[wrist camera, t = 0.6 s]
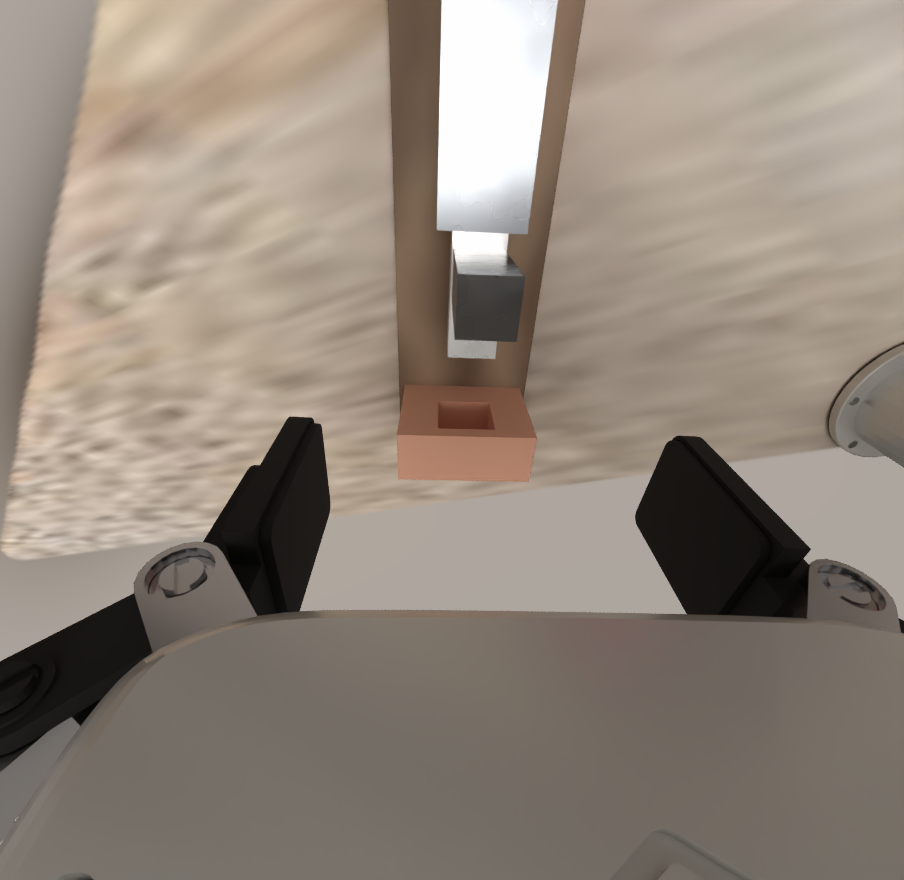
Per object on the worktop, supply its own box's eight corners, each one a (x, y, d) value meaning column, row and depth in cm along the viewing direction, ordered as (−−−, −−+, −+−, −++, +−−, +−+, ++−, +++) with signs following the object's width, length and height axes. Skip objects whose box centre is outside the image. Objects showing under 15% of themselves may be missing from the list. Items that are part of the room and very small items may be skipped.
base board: (583, -28, 23) (591, -39, 22) (516, 418, 40) (518, 426, 38) (389, -42, 23) (386, -55, 22) (401, 415, 39) (400, 423, 38)
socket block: (519, 387, 36) (537, 438, 29) (513, 426, 38) (528, 481, 32) (405, 384, 36) (396, 434, 29) (406, 423, 38) (398, 479, 31)
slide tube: (527, -38, 20) (592, -190, 11) (490, 342, 30) (509, 409, 22) (461, -43, 20) (477, -200, 11) (446, 340, 30) (449, 407, 22)
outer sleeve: (536, -43, 22) (574, -127, 16) (508, 220, 29) (527, 234, 23) (443, -50, 22) (444, -138, 16) (437, 216, 29) (436, 230, 22)
